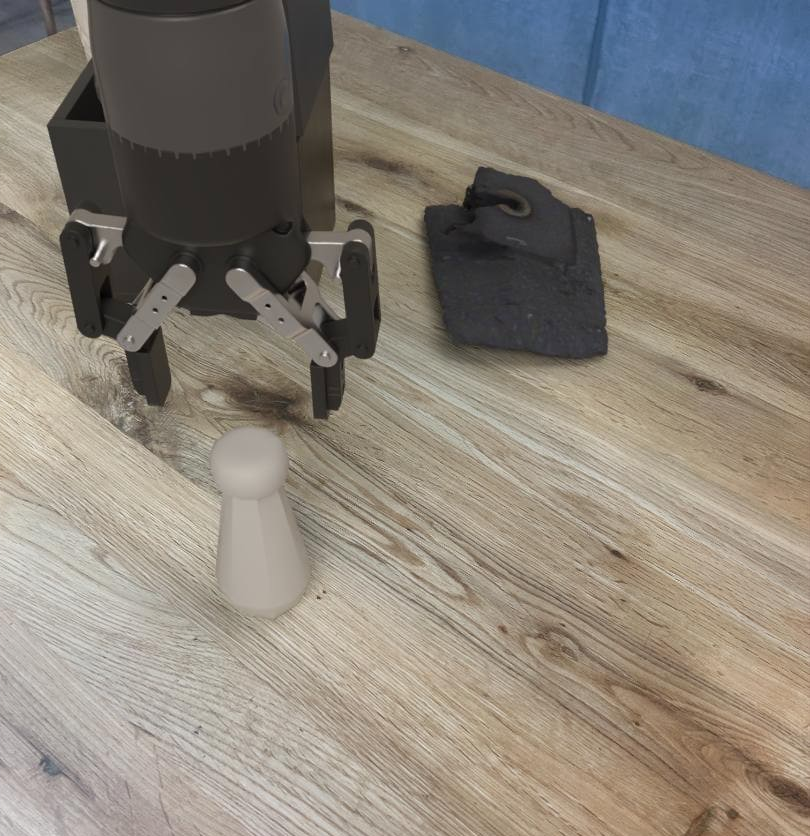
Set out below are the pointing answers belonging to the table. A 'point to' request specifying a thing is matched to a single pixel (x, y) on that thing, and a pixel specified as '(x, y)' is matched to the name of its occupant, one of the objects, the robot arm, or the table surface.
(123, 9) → the robot arm
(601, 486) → the table surface
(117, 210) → the box
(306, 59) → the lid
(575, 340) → the dark slate chunk
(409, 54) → the table surface
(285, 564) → the salt shaker
